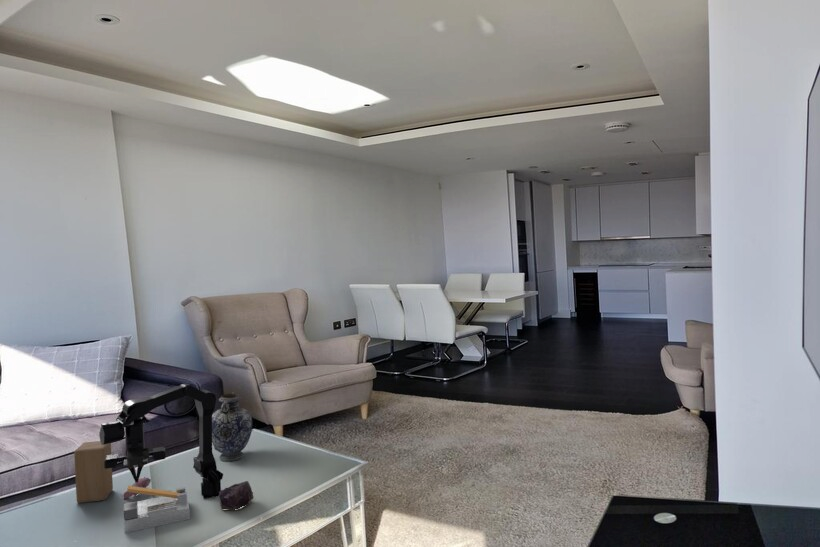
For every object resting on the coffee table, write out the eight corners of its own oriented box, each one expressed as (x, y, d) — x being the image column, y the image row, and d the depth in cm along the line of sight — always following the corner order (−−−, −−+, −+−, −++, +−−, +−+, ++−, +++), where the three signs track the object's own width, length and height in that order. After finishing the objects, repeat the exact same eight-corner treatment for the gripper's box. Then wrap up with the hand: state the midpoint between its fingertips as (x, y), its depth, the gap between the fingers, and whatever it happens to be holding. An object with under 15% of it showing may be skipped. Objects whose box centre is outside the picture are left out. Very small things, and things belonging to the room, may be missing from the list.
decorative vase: (215, 449, 258) (214, 389, 257) (256, 447, 260) (255, 388, 259) (203, 467, 237) (202, 402, 236) (248, 465, 239) (247, 401, 238)
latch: (137, 509, 191) (137, 501, 190) (137, 517, 185) (137, 508, 185) (124, 512, 189) (124, 503, 189) (124, 520, 183) (123, 510, 183)
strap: (182, 496, 200) (183, 492, 200) (183, 499, 198) (184, 495, 198) (127, 488, 193) (128, 484, 193) (126, 492, 190) (128, 488, 190)
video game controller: (130, 503, 208) (137, 487, 207) (121, 497, 209) (127, 481, 208) (148, 492, 218) (154, 477, 217) (138, 486, 218) (145, 471, 217)
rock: (220, 508, 202) (225, 520, 193) (215, 486, 201) (220, 496, 192) (252, 496, 207) (258, 506, 198) (248, 474, 206) (253, 484, 197)
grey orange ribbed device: (187, 502, 204) (186, 485, 204) (189, 519, 192) (189, 500, 191) (125, 514, 196) (125, 496, 196) (124, 532, 183) (123, 513, 183)
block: (85, 492, 215) (83, 441, 214) (113, 489, 217) (111, 439, 216) (75, 504, 205) (73, 450, 204) (105, 501, 207) (102, 448, 206)
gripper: (102, 449, 180) (104, 496, 181) (165, 439, 188) (166, 485, 189) (104, 439, 190) (106, 483, 191) (164, 430, 198) (165, 473, 199)
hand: (136, 481), depth 192 cm, fingers closed
